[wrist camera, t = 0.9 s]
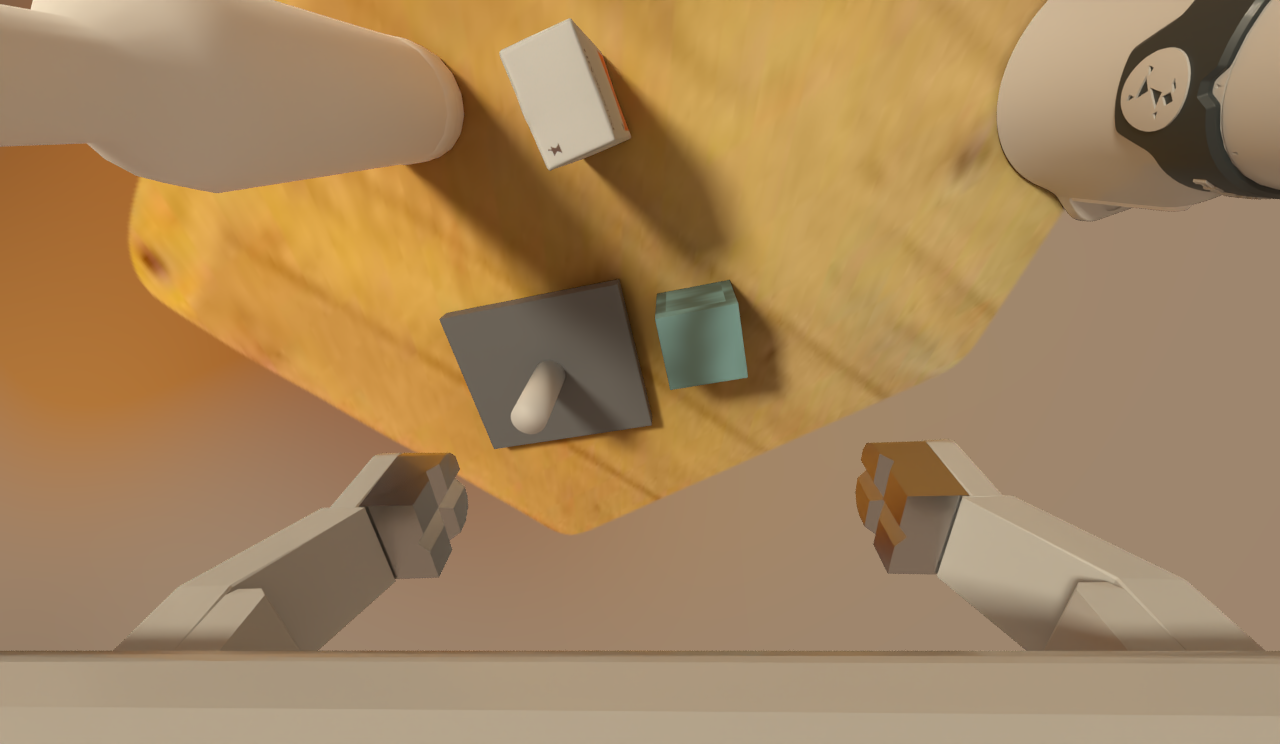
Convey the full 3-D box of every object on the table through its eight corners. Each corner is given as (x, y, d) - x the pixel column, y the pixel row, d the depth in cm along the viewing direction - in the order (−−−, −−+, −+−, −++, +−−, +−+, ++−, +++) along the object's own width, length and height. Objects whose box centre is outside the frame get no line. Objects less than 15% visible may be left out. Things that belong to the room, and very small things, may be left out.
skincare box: (633, 137, 37) (618, 144, 26) (581, 159, 38) (546, 174, 27) (602, 47, 34) (571, 14, 24) (547, 73, 35) (493, 52, 24)
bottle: (347, 123, 37) (-462, 129, 11) (377, 14, 34) (-683, -369, 7) (445, 181, 39) (-50, 313, 12) (482, 82, 36) (-81, -33, 9)
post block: (619, 279, 42) (606, 316, 34) (652, 416, 48) (648, 476, 40) (446, 313, 44) (396, 355, 36) (498, 440, 50) (466, 500, 42)
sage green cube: (729, 279, 41) (738, 303, 36) (738, 346, 44) (748, 377, 39) (657, 293, 42) (654, 318, 37) (670, 357, 45) (670, 389, 39)
